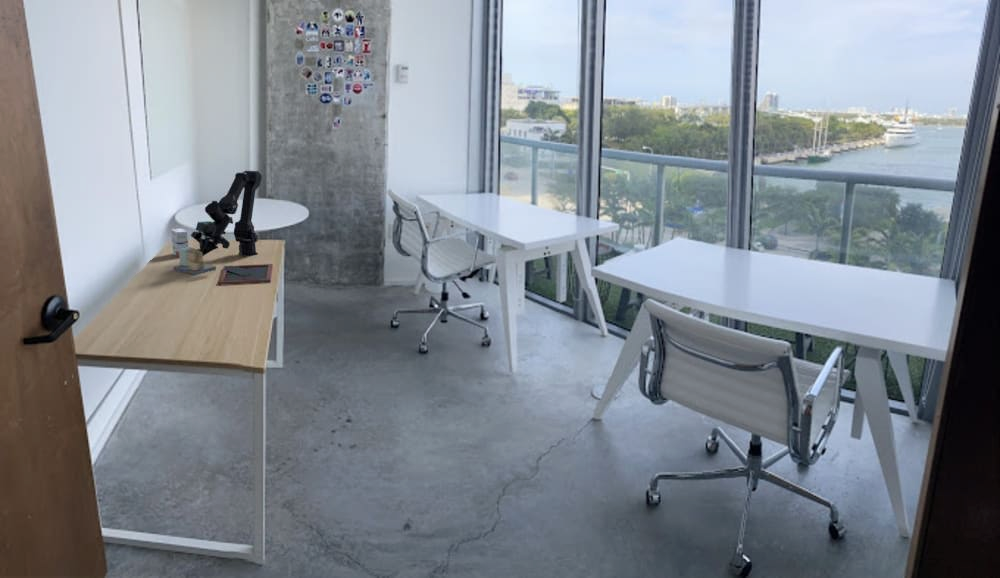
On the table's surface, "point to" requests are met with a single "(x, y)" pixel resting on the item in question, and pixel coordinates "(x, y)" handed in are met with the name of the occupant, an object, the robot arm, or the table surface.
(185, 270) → the key base
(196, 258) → the wooden button block
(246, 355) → the table surface
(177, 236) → the ink box
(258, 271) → the picture frame
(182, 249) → the two-stud toy brick
